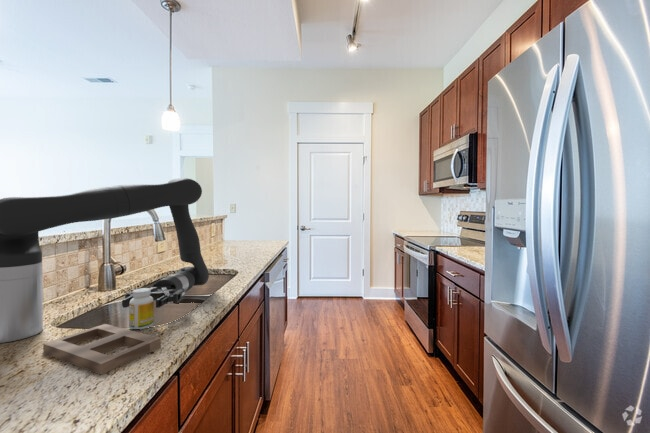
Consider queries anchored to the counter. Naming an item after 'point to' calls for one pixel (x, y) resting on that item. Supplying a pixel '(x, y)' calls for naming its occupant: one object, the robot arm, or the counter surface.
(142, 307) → the supplement bottle
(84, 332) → the brown flat two-opening frame
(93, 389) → the counter surface
